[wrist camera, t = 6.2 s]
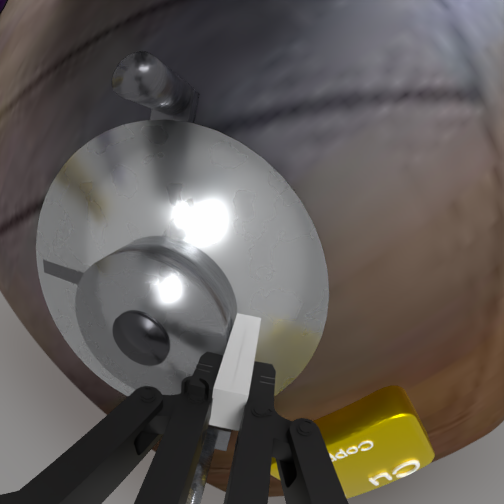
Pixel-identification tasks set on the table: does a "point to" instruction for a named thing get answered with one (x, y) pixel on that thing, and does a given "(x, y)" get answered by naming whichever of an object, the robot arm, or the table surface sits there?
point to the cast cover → (155, 311)
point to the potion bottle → (2, 4)
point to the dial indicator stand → (207, 460)
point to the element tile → (374, 441)
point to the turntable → (185, 219)
